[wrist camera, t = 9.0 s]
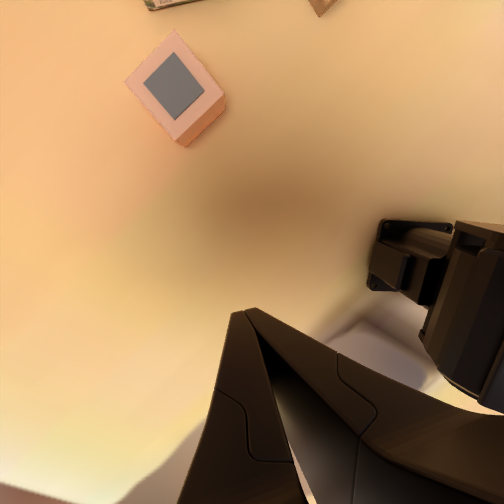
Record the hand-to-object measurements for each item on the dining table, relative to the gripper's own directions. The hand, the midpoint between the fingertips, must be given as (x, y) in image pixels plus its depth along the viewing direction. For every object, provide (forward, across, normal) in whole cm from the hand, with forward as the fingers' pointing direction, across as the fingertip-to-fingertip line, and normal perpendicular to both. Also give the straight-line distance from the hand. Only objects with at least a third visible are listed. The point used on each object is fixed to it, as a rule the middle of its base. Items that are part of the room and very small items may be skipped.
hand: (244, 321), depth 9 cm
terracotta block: (+15, 0, -8) cm, 17 cm away
